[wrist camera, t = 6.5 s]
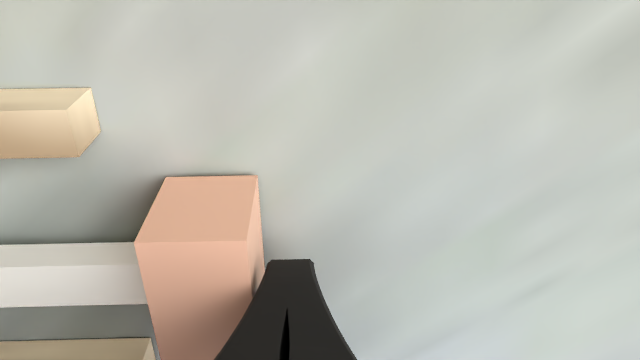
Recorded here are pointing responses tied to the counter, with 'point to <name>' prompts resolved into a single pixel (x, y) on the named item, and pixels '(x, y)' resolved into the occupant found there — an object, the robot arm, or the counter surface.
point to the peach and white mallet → (159, 266)
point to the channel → (53, 142)
